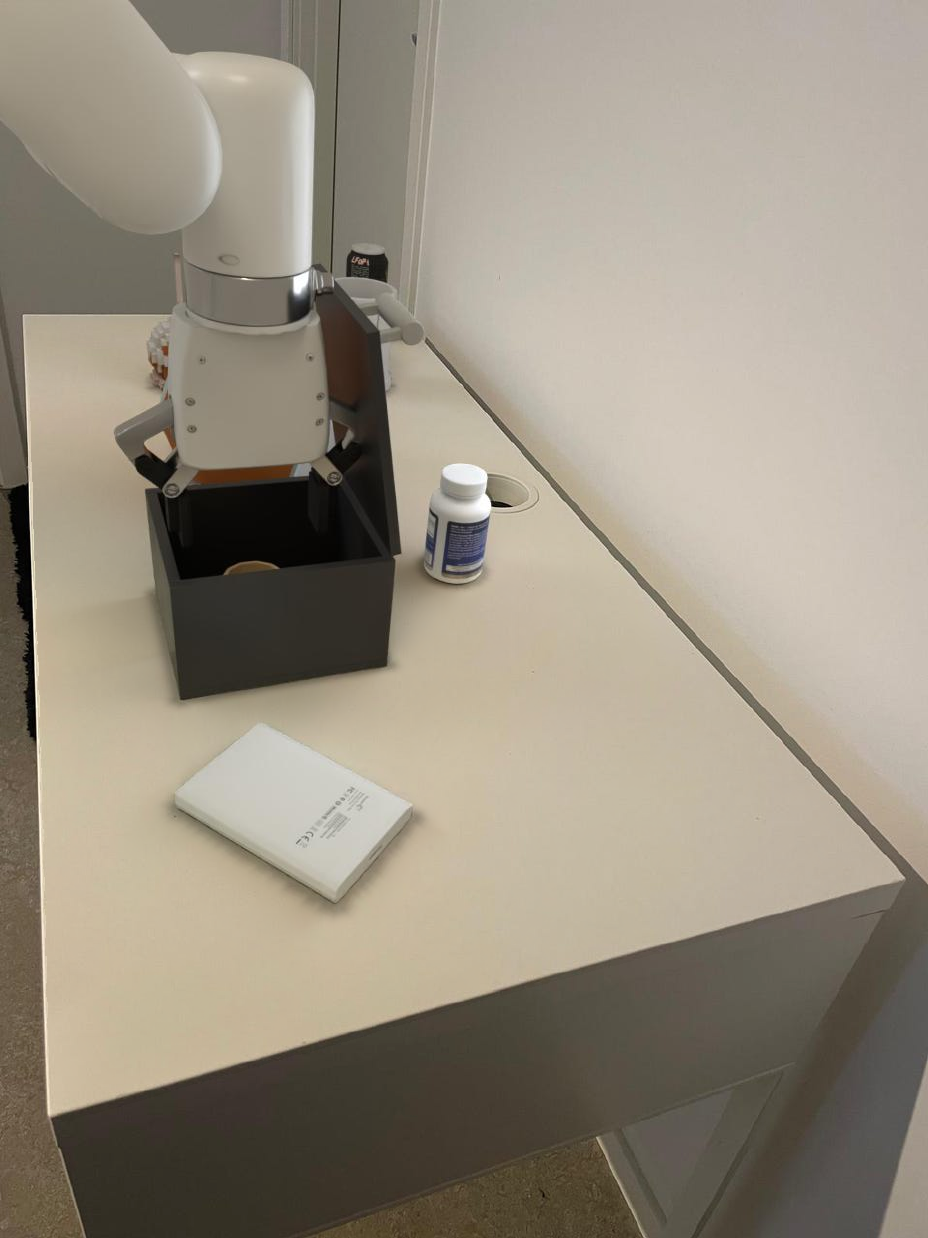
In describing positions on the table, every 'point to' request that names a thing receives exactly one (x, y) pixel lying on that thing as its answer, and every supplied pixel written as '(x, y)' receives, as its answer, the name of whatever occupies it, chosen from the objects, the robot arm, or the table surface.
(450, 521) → the pill bottle
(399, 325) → the lid
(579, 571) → the table surface
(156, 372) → the decorative ornament
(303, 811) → the hard drive
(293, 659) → the open storage box
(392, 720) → the table surface
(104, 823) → the table surface
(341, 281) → the cup
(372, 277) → the beverage can
